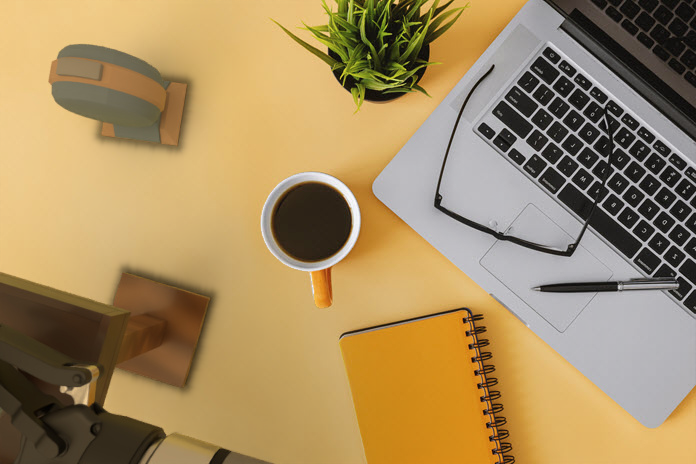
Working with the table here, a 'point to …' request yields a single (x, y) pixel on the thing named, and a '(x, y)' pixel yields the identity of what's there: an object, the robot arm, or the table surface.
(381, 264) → the table surface
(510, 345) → the table surface
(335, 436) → the table surface
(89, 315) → the serving tray
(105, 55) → the alarm clock
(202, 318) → the tray stand
